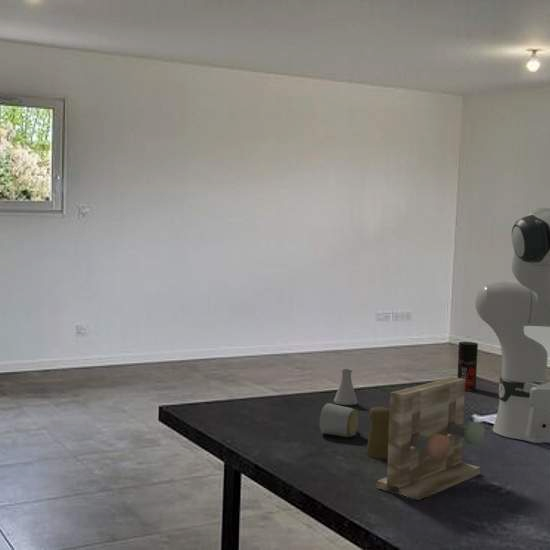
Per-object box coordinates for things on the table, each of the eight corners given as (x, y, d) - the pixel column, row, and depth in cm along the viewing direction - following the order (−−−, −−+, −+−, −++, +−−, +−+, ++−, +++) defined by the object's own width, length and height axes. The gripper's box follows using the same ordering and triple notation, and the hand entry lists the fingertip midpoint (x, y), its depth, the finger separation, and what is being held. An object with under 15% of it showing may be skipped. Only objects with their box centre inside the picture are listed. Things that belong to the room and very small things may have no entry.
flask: (334, 399, 240) (335, 366, 239) (358, 401, 239) (359, 367, 238) (332, 405, 232) (333, 371, 232) (357, 406, 231) (358, 372, 231)
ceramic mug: (349, 441, 195) (350, 410, 195) (318, 436, 199) (319, 405, 198) (363, 432, 205) (365, 402, 204) (334, 427, 208) (335, 398, 208)
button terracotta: (449, 456, 158) (450, 434, 158) (437, 461, 155) (438, 438, 154) (418, 448, 163) (419, 426, 163) (406, 453, 160) (407, 430, 159)
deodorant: (475, 387, 262) (477, 342, 261) (475, 391, 256) (477, 345, 255) (457, 386, 263) (459, 341, 262) (456, 390, 257) (458, 344, 256)
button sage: (484, 443, 168) (485, 421, 168) (473, 447, 165) (474, 425, 165) (454, 436, 173) (455, 415, 173) (443, 440, 170) (444, 419, 169)
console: (479, 474, 172) (484, 382, 171) (418, 500, 155) (422, 399, 153) (439, 463, 179) (443, 375, 178) (376, 487, 162) (379, 390, 160)
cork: (364, 450, 188) (366, 404, 187) (390, 451, 188) (392, 405, 187) (366, 458, 182) (368, 410, 181) (393, 458, 182) (395, 411, 181)
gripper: (619, 374, 157) (551, 364, 166) (577, 388, 142) (505, 376, 151) (618, 406, 157) (550, 394, 166) (575, 423, 142) (503, 409, 151)
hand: (528, 385), depth 159 cm, fingers closed
